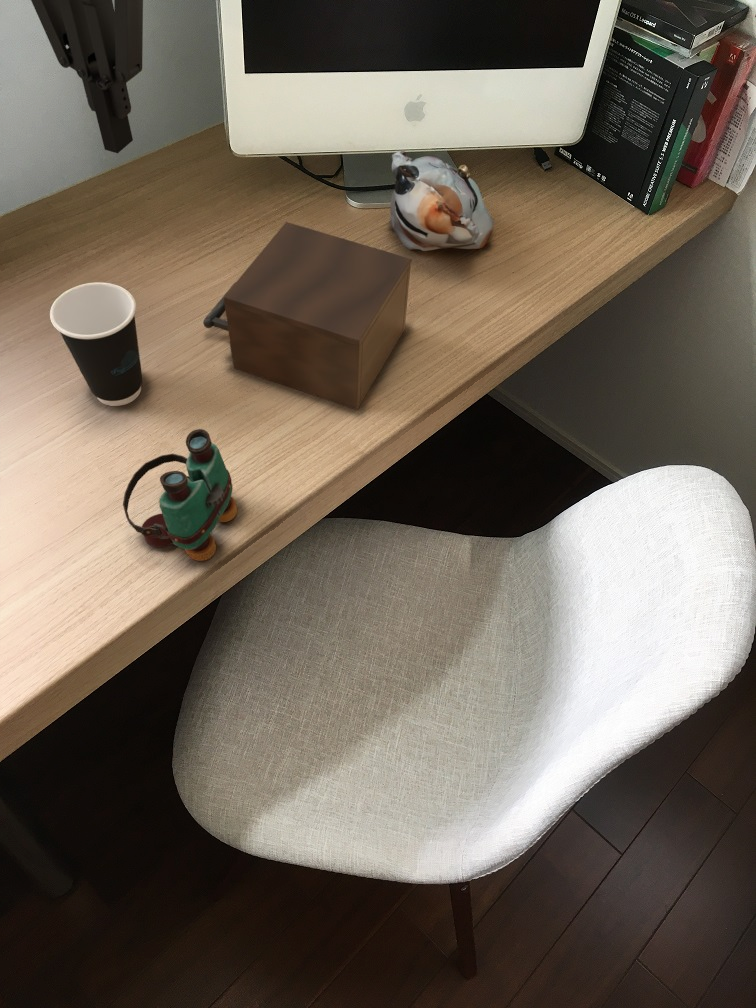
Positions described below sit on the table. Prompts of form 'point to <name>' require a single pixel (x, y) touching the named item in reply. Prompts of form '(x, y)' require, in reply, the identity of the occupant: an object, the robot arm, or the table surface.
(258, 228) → the table surface
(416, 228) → the lucky cat figurine
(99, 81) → the robot arm
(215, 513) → the binoculars
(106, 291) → the dixie cup
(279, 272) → the drawer unit
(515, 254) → the table surface
